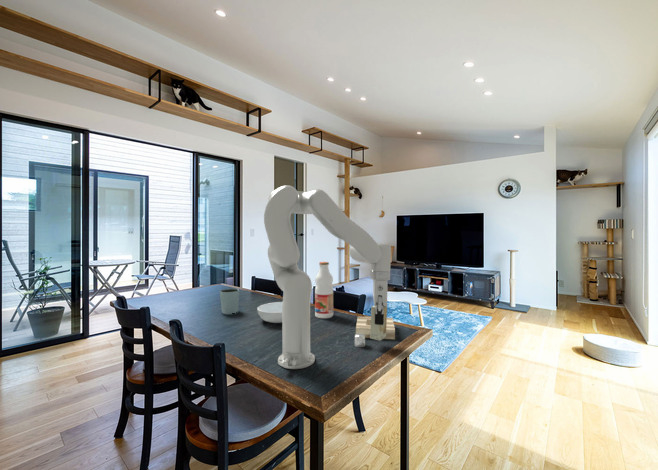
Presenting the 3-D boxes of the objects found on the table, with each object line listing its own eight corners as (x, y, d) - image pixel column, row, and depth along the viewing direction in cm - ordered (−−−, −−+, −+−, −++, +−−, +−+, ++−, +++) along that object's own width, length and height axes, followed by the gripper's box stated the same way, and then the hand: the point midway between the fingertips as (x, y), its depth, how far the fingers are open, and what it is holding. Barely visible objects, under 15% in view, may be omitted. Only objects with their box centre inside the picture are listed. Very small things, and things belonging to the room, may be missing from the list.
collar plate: (394, 339, 123) (395, 329, 123) (355, 337, 125) (355, 327, 125) (392, 326, 139) (392, 317, 139) (357, 325, 141) (357, 316, 141)
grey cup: (236, 314, 158) (235, 292, 158) (216, 314, 158) (216, 292, 158) (241, 309, 168) (241, 288, 168) (223, 309, 169) (223, 288, 168)
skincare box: (380, 341, 112) (381, 308, 112) (369, 338, 114) (370, 306, 114) (386, 336, 117) (387, 305, 117) (376, 334, 120) (377, 303, 119)
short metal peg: (364, 347, 115) (364, 337, 115) (354, 347, 116) (354, 336, 116) (365, 343, 119) (365, 333, 119) (355, 343, 120) (355, 333, 119)
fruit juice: (336, 317, 153) (336, 262, 153) (319, 319, 150) (318, 263, 149) (328, 312, 162) (328, 260, 161) (312, 314, 158) (312, 261, 157)
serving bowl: (295, 312, 162) (295, 300, 162) (304, 324, 142) (304, 310, 142) (255, 316, 156) (255, 303, 155) (259, 329, 136) (259, 314, 136)
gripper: (391, 279, 106) (390, 329, 106) (389, 272, 123) (387, 315, 124) (370, 278, 107) (368, 327, 107) (370, 271, 124) (369, 314, 125)
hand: (378, 320), depth 116 cm, fingers closed on skincare box, 7 cm apart
